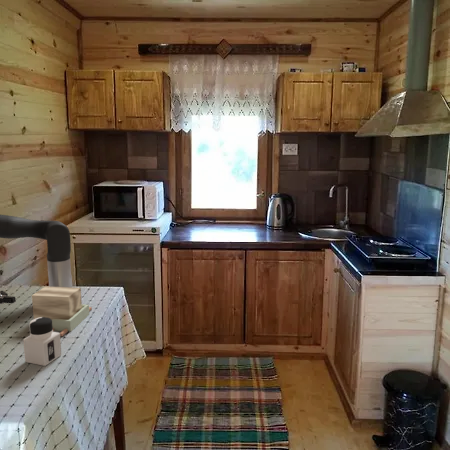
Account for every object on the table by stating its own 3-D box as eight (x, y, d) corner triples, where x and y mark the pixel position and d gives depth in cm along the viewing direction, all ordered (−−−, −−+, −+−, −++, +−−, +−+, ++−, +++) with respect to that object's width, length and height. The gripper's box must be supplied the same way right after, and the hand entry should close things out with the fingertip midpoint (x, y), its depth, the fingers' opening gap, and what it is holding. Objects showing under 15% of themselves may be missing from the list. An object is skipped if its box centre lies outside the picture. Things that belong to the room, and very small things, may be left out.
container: (62, 355, 143) (59, 316, 141) (45, 366, 136) (41, 326, 134) (42, 351, 146) (39, 313, 143) (24, 362, 139) (21, 322, 136)
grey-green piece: (77, 309, 181) (76, 299, 181) (94, 310, 180) (93, 300, 180) (46, 335, 157) (45, 325, 156) (65, 337, 156) (64, 326, 155)
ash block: (48, 315, 175) (45, 286, 173) (82, 317, 173) (80, 287, 171) (34, 326, 165) (31, 295, 163) (70, 328, 163) (68, 297, 161)
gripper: (-42, 295, 165) (3, 296, 163) (-18, 283, 178) (23, 284, 176) (-39, 314, 166) (5, 316, 164) (-16, 301, 179) (25, 302, 177)
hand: (14, 299), depth 170 cm, fingers closed
